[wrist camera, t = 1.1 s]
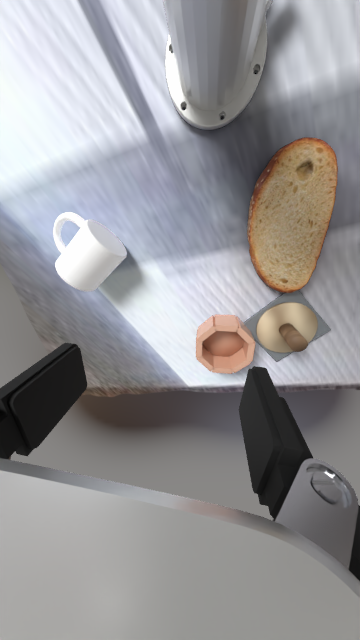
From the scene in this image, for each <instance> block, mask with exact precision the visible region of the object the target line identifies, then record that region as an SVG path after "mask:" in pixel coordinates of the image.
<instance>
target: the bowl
mask: <svg viewBox="0 0 360 640" xmlns="http://www.w3.org/2000/svg"><path fill="white" fill-rule="evenodd" d="M254 349H255V341H254V338H253V336H252V334H251V331H250V330H249V329H248V328H247V327H246V326H245V325H244V323H243V322H242V321H241V320H240V319H239V318H238V317H235V315H215V317H214V316H213V315H212V316H211V317H210V318H209V319H208V320H206V321H205V322H204V323H203V324H201V325H200V326H199V327H198V330H197V338H196V357H197V360H198V361H199V362H200V363H202V364H203V365H204V366H205V367H206V368H207V369H208V370H209V371H212V372H216V373H228V374H232V372H234V373H236V372H237V371H239V370H241V369H242V368H244V367H246V366H247V365H249V364H250V363H251V361H253V355H254Z"/></svg>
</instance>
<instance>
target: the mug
mask: <svg viewBox="0 0 360 640" xmlns="http://www.w3.org/2000/svg"><path fill="white" fill-rule="evenodd" d="M67 220H69V221H72V222H74V223H75V224H76V225H78V226H79V227H80V230H79V231H78V232H77V234H76V235H75V236H74V238H73V239H72V241H71V242H70V243H69V245H68V246H67V247H66V245H65V244H64V243H63V241H62V239H61V229H62V227H63V225H64V223H65V222H66V221H67ZM53 234H54V241H55V244H56V246H57V248H58V250H59V251H60V252H61V255H60V257H59V258H58V260H57V261H56V263H55V267H56V270H57V272H58V274H59V275H60V277H61V278H62V279H63V280H64V281H65V282H66V283H68V284H69V285H71V286H72V287H74V288H76V289H78V290H81V291H86V292H91V291H94V290H95V289H97V287H98V286H99V285H100V284H101V283H102V282H103V281H104V280H105V279H106V278H107V277H108V276H109V275H110V274H111V273H112V272H113V270H114V269H115V268H116V267H117V266H118V265H119V264H120V263H121V262H122V261H123V260H124V259H125V258H126V256H127V251H126V248H125V247H124V245H123V243H122V242H121V241H120V239H119V238H118V237H117V236H116V235H115V234H114V233H113V232H112V231H111V230H109V229H108V228H107V227H106V226H104V225H103V224H101V223H99V222H97V221H95V220H87V221H85V220H84V219H83V218H82V217H80V216H79V215H77V214H75V213H72V212H66V213H63V214H61V215H60V216H59V217H58V218H57V219H56V221H55V224H54V230H53Z"/></svg>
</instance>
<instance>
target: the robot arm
mask: <svg viewBox="0 0 360 640" xmlns="http://www.w3.org/2000/svg"><path fill="white" fill-rule="evenodd" d="M272 2H273V0H163V5H164V10H165V15H166V20H167V25H168V30H169V35H168V40H167V46H166V56H165V70H166V80H167V84H168V89H169V93H170V96H171V99H172V101H173V104H174V106H175V108H176V110H177V111H178V113H179V114H180V115H181V117H182V118H183V119H184V120H185V121H186V122H187V123H189V124H190V125H192V126H194V127H196V128H199V129H203V130H213V129H217V128H221V127H223V126H225V125H227V124H229V123H230V122H231V121H233V120H234V119H235V118H236V117H238V116H239V114H240V113H241V112H242V111H243V110H244V109H245V108H246V106H247V105H248V103H249V102H250V100H251V98H252V97H253V94H254V92H255V90H256V88H257V86H258V83H259V80H260V77H261V75H262V71H263V67H264V63H265V58H266V51H267V25H266V18H265V16H266V12H267V10H268V8H269V7H270V5H271V4H272ZM172 53H173V54H172ZM254 72H256V73H257V74H254ZM183 108H186V109H185V110H183ZM221 117H223V118H224V119H223V120H220V118H221ZM86 387H87V380H86V375H85V370H84V366H83V361H82V356H81V351H80V348H79V347H78V346H77V345H76V344H71V343H64V344H63V345H61V346H60V347H58V348H57V349H55V350H54V351H53V352H51V353H50V354H48V355H47V356H45V357H44V358H43V359H41V360H40V361H39V362H37V363H36V364H34V365H33V366H31V367H30V368H29V369H27V370H26V371H24V372H23V373H21V374H20V375H19V376H17V377H16V378H14V379H13V380H12V381H10V382H9V383H7V384H6V385H4V386H3V387H2V388H0V640H360V506H359V505H358V498H357V496H356V493H355V491H354V489H353V488H352V486H351V485H350V483H349V482H348V481H347V480H346V478H345V477H344V476H343V475H342V474H341V473H340V472H339V471H338V470H336V469H335V468H334V467H333V466H331V465H329V464H328V463H326V462H324V461H321V460H318V459H313V457H312V454H311V452H310V450H309V448H308V446H307V444H306V442H305V440H304V438H303V436H302V434H301V432H300V430H299V428H298V425H297V423H296V421H295V419H294V417H293V415H292V413H291V411H290V409H289V407H288V405H287V403H286V401H285V399H284V398H282V397H279V396H278V393H277V391H276V389H275V387H274V385H273V382H272V380H271V378H270V376H269V373H268V371H267V369H266V368H263V367H255V366H254V367H253V368H252V369H249V370H248V374H247V378H246V382H245V386H244V390H243V395H242V399H241V403H240V407H239V413H240V420H241V426H242V431H243V437H244V443H245V448H246V454H247V460H248V465H249V471H250V477H251V482H252V488H253V491H254V493H257V494H258V497H259V502H260V504H261V505H266V506H268V507H269V511H270V515H271V516H272V517H273V520H272V521H271V520H269V519H266V518H264V517H261V516H257V515H254V514H250V513H247V512H244V511H241V510H237V509H232V508H228V507H224V506H220V505H216V504H212V503H208V502H204V501H199V500H195V499H191V498H186V497H182V496H177V495H173V494H168V493H163V492H159V491H154V490H150V489H145V488H140V487H135V486H131V485H127V484H122V483H117V482H113V481H108V480H103V479H98V478H94V477H89V476H84V475H80V474H75V473H70V472H65V471H61V470H55V469H51V468H46V467H41V466H37V465H31V464H27V463H22V462H17V461H12V460H10V459H11V455H12V454H13V453H14V452H15V451H16V453H17V454H20V455H24V456H28V455H29V454H30V452H31V451H32V450H33V449H34V448H37V447H38V446H39V445H40V444H41V443H42V441H43V440H44V439H45V438H46V437H47V435H48V434H49V433H50V432H51V431H52V429H53V428H54V427H55V426H56V425H57V423H58V422H59V421H60V420H61V419H62V417H63V416H64V415H65V414H66V412H67V411H68V410H69V409H70V407H71V406H72V405H73V404H74V403H75V402H76V401H77V399H78V398H79V397H80V396H81V395H82V393H83V392H84V391H85V390H86Z"/></svg>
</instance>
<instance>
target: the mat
mask: <svg viewBox="0 0 360 640" xmlns="http://www.w3.org/2000/svg"><path fill="white" fill-rule="evenodd" d="M285 302H296V303H300V304H303V305H305V306H307V307H308V308H309V309H311V310H312V311H313V312H314V314H315V315H316V317H317V321H318V328H317V331H316V334H315V336H314V337H313V339H312V340H311V341H313V340H315V339H316V338H318V337H320V336H322V335H323V334H325V333H327V332H328V331H330V330H331V329H330V328H329V327H328V325H327V324H326V323H325V322H324V321H323V319H322V318H321V317H320V316H319V315H318V313H317V312H316V311H315V310H314V309H313V307H312V306H311V305H310V304H309V303H308V301H307V300H306V299H305V298H304V297H303V295H302V294H301V293H300V292H299V291H298V290H297V291H295V292H292V293H283V294H282V295H281V296H279V297H278V298H276V299H275V300H274V301H272V302H271V303H270V304H268V305H267V306H266V307H264V308H263V309H262V310H260V311H259V312H257V313H256V314H255V315H253V316H252V317H251V318H249V319H248V320H247V321H245V322H244V325H245V326H246V327H247V328H248V329H249V330H250V331H251V334H252V336H253V338H254V339H255V340H256V341H257V342H258V343H259V344H260V345H261V346H262V347H263V348H264V349H265V350H266V351H267V352H268V354H269V355H270V356H271V357H272V358H273V359H274V360H275V361H276V362H277V361H279V360H280V359H282V358H284V357H286V356H287V355H289V354H291V353H292V352H294V351H292V352H286V353H280V352H274V351H271V350H269V349H267V348H265V347H264V346H263V345H262V344H261V343H260V341H259V339H258V337H257V333H256V326H257V323H258V320H259V319H260V317H261V316H262V314H263V313H264V312H265V311H267V310H268V309H269V308H271V307H273V306H275V305H277V304H280V303H285ZM311 341H310V342H311ZM310 342H309V343H310Z"/></svg>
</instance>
